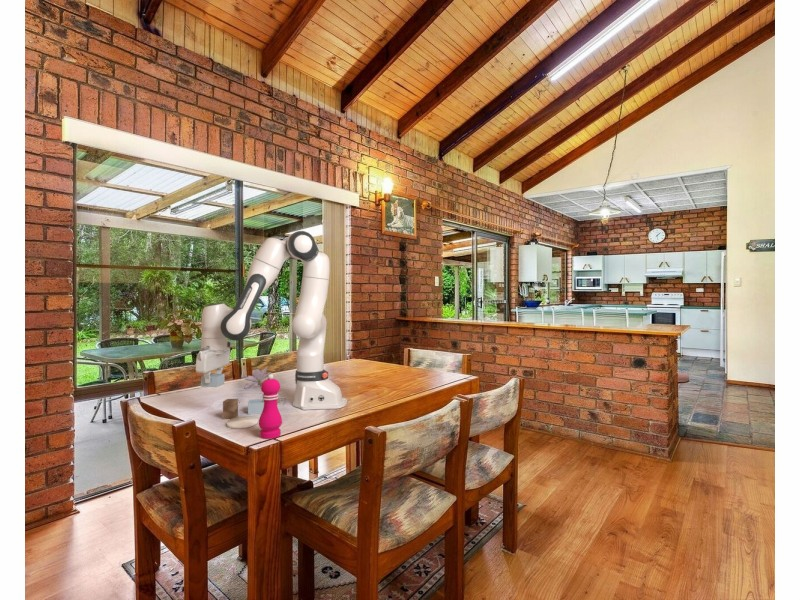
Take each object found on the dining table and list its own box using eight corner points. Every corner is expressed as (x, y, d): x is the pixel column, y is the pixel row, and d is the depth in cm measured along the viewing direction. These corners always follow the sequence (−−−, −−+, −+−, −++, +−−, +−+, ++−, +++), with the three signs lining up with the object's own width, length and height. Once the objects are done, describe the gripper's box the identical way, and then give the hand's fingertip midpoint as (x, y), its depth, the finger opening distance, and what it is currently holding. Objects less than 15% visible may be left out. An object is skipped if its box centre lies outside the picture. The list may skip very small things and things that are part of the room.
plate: (262, 419, 149) (262, 416, 149) (251, 428, 139) (251, 425, 139) (234, 419, 150) (234, 415, 150) (221, 428, 139) (221, 424, 139)
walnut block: (237, 416, 154) (237, 398, 154) (233, 419, 150) (233, 401, 150) (227, 416, 154) (227, 398, 154) (222, 419, 150) (222, 401, 150)
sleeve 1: (224, 383, 161) (224, 373, 161) (216, 387, 155) (217, 376, 155) (208, 383, 161) (209, 373, 161) (200, 386, 155) (201, 376, 155)
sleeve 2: (265, 408, 164) (265, 398, 164) (265, 412, 158) (265, 402, 158) (248, 409, 162) (248, 399, 162) (247, 414, 156) (247, 403, 156)
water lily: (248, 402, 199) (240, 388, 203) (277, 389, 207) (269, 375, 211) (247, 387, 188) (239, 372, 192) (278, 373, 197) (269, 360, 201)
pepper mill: (266, 441, 127) (266, 377, 127) (254, 435, 132) (254, 374, 132) (286, 435, 133) (286, 374, 133) (274, 430, 138) (274, 371, 137)
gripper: (208, 348, 148) (207, 386, 148) (233, 342, 168) (232, 375, 168) (191, 348, 148) (190, 386, 148) (218, 341, 168) (217, 375, 168)
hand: (213, 380), depth 158 cm, fingers closed on sleeve 1, 6 cm apart
